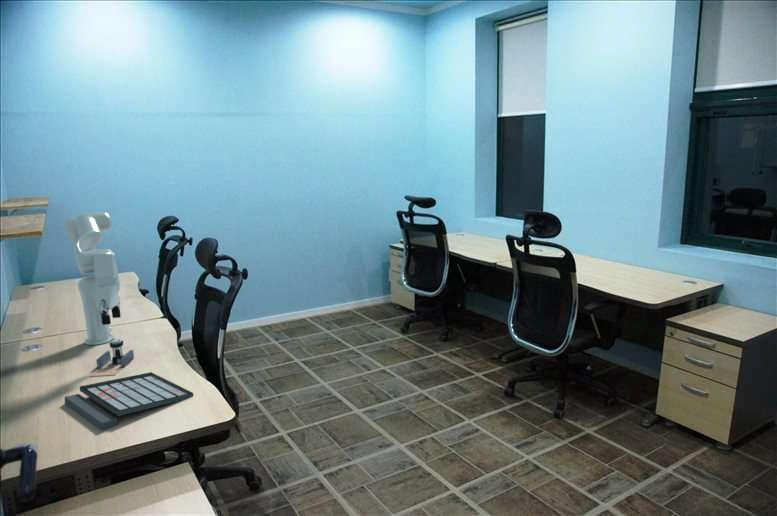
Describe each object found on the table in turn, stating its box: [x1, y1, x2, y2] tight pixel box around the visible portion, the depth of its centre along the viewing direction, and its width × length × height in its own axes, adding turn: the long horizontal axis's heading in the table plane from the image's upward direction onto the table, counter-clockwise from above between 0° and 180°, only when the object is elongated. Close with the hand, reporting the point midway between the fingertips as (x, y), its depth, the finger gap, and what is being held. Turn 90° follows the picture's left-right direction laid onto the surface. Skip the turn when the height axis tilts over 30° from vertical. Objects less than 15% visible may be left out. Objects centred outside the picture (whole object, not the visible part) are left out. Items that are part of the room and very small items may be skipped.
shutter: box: [64, 371, 194, 432], centre depth 193 cm, size 32×7×31 cm
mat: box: [89, 367, 123, 378], centre depth 218 cm, size 7×10×1 cm, turn 94°
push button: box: [107, 338, 125, 365], centre depth 228 cm, size 7×5×10 cm
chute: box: [95, 349, 135, 370], centre depth 227 cm, size 10×11×4 cm
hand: (111, 320), depth 225 cm, fingers open, 9 cm apart
